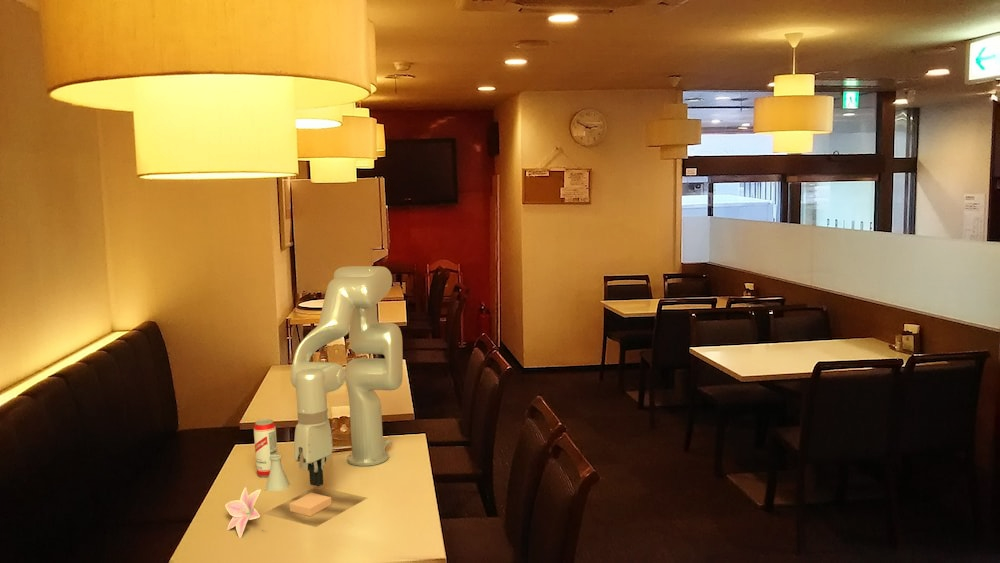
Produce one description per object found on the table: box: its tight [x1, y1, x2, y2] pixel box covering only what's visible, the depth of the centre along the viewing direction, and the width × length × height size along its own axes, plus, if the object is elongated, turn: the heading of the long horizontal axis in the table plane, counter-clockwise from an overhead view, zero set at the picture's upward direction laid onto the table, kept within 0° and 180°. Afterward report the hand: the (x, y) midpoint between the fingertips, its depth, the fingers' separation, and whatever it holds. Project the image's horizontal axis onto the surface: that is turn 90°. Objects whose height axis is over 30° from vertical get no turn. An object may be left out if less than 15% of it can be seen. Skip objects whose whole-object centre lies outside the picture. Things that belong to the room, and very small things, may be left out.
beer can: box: [253, 418, 279, 478], centre depth 241 cm, size 6×6×16 cm
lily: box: [224, 486, 262, 539], centre depth 205 cm, size 12×12×10 cm
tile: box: [289, 493, 332, 516], centre depth 213 cm, size 2×7×8 cm
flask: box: [264, 454, 291, 492], centre depth 228 cm, size 7×7×10 cm
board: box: [263, 486, 368, 528], centre depth 215 cm, size 20×18×1 cm
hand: (316, 484), depth 215 cm, fingers closed
